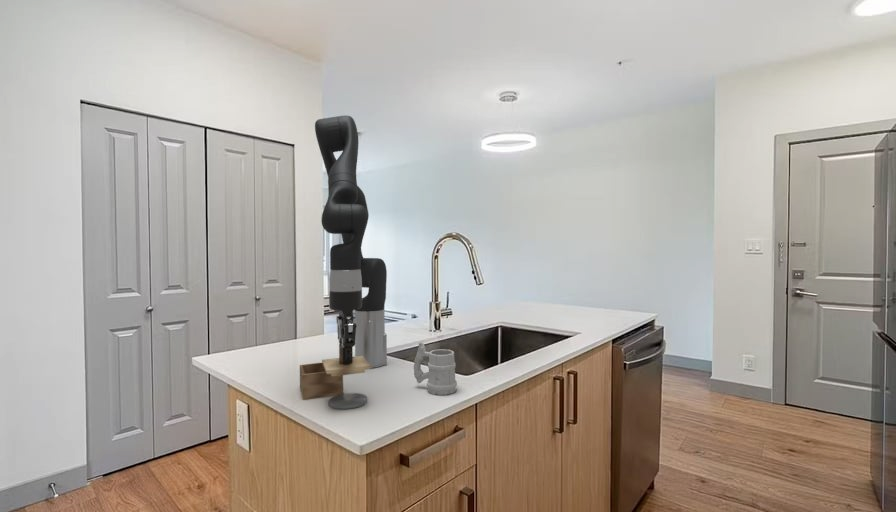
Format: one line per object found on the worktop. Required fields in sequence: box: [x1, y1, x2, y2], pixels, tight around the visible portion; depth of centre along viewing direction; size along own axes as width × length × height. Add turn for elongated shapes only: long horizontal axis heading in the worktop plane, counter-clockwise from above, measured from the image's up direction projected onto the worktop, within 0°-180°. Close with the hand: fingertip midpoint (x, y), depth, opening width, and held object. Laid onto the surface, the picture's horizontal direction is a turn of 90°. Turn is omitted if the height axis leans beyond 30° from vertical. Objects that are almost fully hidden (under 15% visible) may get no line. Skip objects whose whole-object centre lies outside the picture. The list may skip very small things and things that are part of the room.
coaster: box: [328, 392, 368, 410], centre depth 102 cm, size 9×9×1 cm
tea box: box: [299, 362, 344, 401], centre depth 110 cm, size 10×10×6 cm
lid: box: [321, 343, 372, 376], centre depth 101 cm, size 10×10×6 cm
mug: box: [413, 341, 458, 396], centre depth 110 cm, size 8×12×12 cm, turn 68°
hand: (346, 361), depth 102 cm, fingers closed on lid, 3 cm apart
